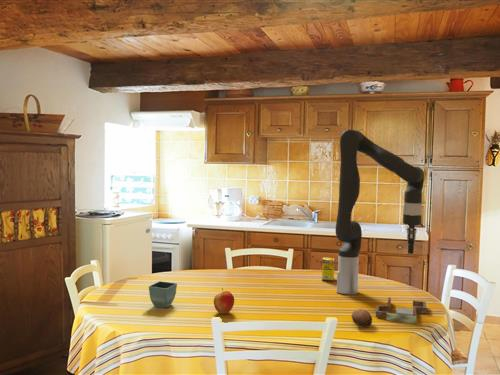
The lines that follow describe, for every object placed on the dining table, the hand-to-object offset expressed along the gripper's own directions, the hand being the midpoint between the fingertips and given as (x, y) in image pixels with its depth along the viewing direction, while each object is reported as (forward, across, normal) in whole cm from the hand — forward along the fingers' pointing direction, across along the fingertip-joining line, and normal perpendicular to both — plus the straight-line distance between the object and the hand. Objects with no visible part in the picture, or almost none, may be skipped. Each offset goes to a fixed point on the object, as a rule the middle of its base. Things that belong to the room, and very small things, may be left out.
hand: (410, 253), depth 192 cm
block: (+22, +21, -1) cm, 31 cm away
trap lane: (+22, +14, -2) cm, 26 cm away
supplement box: (+22, -24, -40) cm, 51 cm away
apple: (+22, +42, -69) cm, 84 cm away
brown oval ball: (+22, +35, -16) cm, 44 cm away
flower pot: (+22, +44, -96) cm, 108 cm away
